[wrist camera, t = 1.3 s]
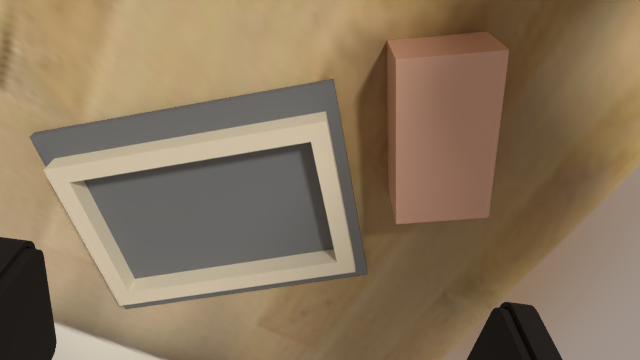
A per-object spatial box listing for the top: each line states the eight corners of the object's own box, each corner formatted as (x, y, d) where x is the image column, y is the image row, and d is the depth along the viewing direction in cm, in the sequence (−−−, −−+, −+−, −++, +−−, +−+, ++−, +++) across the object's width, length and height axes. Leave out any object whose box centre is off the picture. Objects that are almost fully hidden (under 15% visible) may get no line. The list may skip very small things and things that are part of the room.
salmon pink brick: (486, 30, 29) (509, 49, 26) (471, 184, 35) (488, 217, 31) (386, 38, 29) (396, 59, 26) (388, 191, 35) (396, 224, 31)
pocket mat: (333, 78, 30) (334, 91, 28) (366, 269, 38) (369, 287, 37) (34, 132, 32) (17, 147, 30) (127, 303, 40) (119, 323, 38)
